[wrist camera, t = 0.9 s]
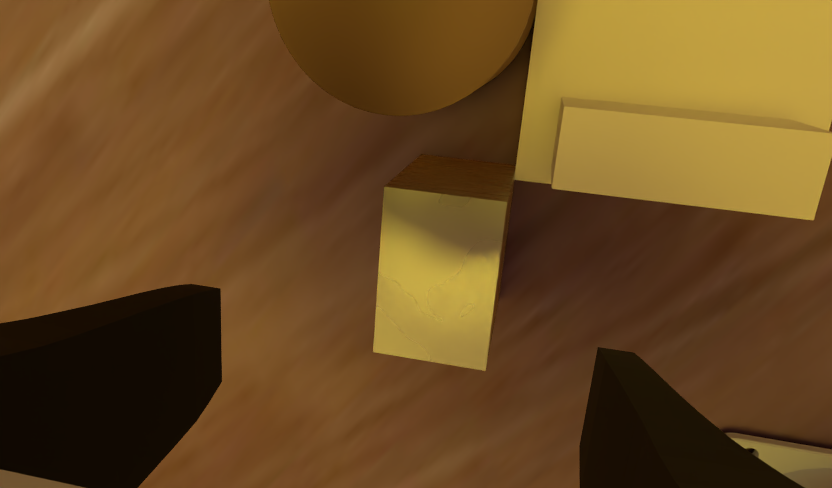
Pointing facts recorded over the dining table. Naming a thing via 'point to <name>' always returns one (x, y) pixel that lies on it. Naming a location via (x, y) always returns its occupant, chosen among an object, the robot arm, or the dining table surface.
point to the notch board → (682, 102)
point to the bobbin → (403, 48)
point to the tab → (442, 259)
